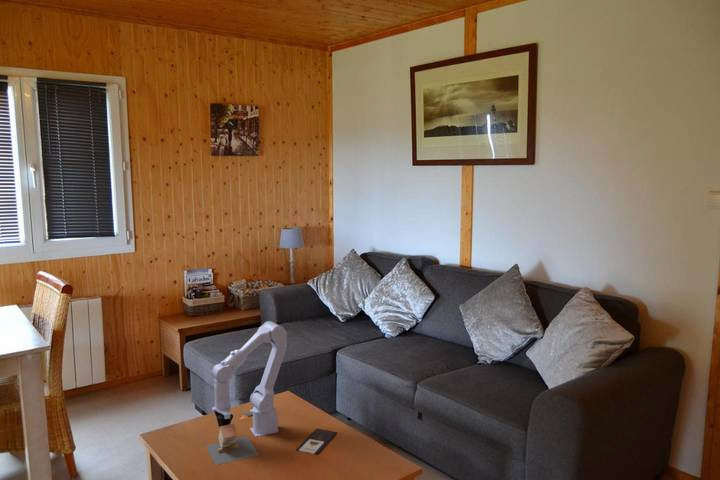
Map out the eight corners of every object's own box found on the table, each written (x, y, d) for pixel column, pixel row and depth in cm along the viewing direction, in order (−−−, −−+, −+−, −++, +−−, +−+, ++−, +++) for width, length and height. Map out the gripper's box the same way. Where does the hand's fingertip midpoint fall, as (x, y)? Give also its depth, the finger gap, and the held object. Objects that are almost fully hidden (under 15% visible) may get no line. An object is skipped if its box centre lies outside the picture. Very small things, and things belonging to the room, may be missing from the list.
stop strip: (239, 446, 215) (238, 443, 215) (239, 448, 215) (239, 445, 214) (217, 451, 212) (217, 448, 212) (218, 453, 211) (218, 449, 211)
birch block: (231, 435, 219) (233, 423, 214) (234, 446, 215) (237, 435, 211) (218, 438, 216) (220, 426, 212) (221, 449, 213) (223, 438, 208)
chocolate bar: (337, 432, 227) (317, 453, 210) (337, 434, 227) (317, 456, 210) (316, 428, 230) (295, 449, 213) (316, 430, 230) (295, 451, 214)
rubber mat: (246, 437, 224) (246, 436, 224) (259, 455, 210) (259, 454, 210) (205, 446, 216) (205, 445, 216) (215, 466, 202) (215, 465, 202)
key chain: (252, 410, 249) (252, 407, 248) (259, 412, 247) (259, 409, 247) (232, 422, 237) (232, 419, 237) (239, 424, 236) (239, 421, 235)
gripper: (207, 390, 221) (208, 423, 223) (216, 404, 209) (217, 439, 211) (225, 387, 225) (226, 420, 227) (235, 401, 212) (236, 435, 214)
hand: (223, 429), depth 219 cm, fingers open, 5 cm apart
